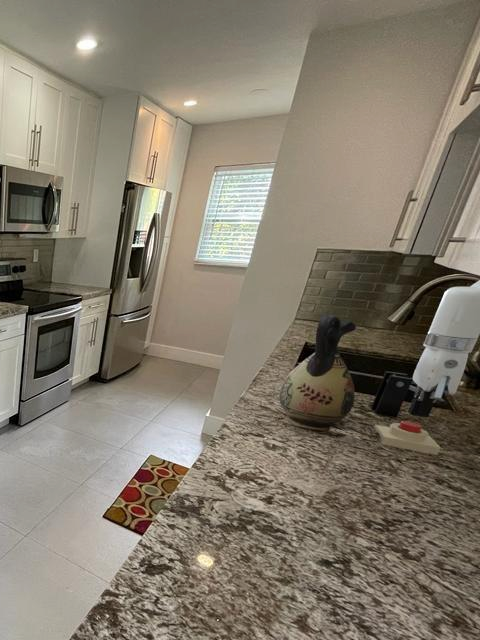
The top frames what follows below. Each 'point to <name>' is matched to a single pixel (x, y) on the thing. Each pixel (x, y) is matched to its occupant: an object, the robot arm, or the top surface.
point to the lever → (439, 402)
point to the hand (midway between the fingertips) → (417, 414)
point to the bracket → (391, 394)
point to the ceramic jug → (320, 381)
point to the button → (410, 426)
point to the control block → (407, 439)
